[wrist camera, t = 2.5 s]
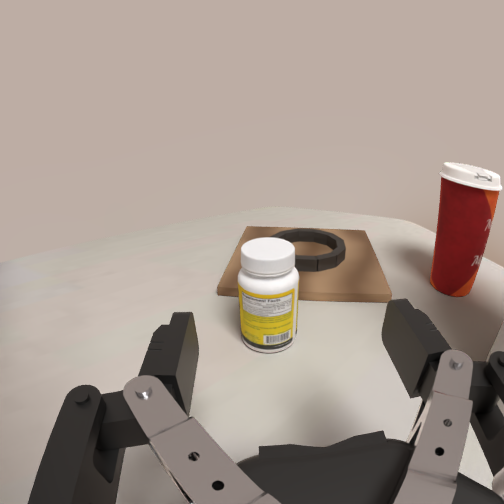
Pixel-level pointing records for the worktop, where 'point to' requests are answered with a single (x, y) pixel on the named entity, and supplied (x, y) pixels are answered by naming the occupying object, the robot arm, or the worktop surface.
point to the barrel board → (326, 282)
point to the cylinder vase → (500, 344)
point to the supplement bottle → (268, 294)
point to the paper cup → (462, 226)
